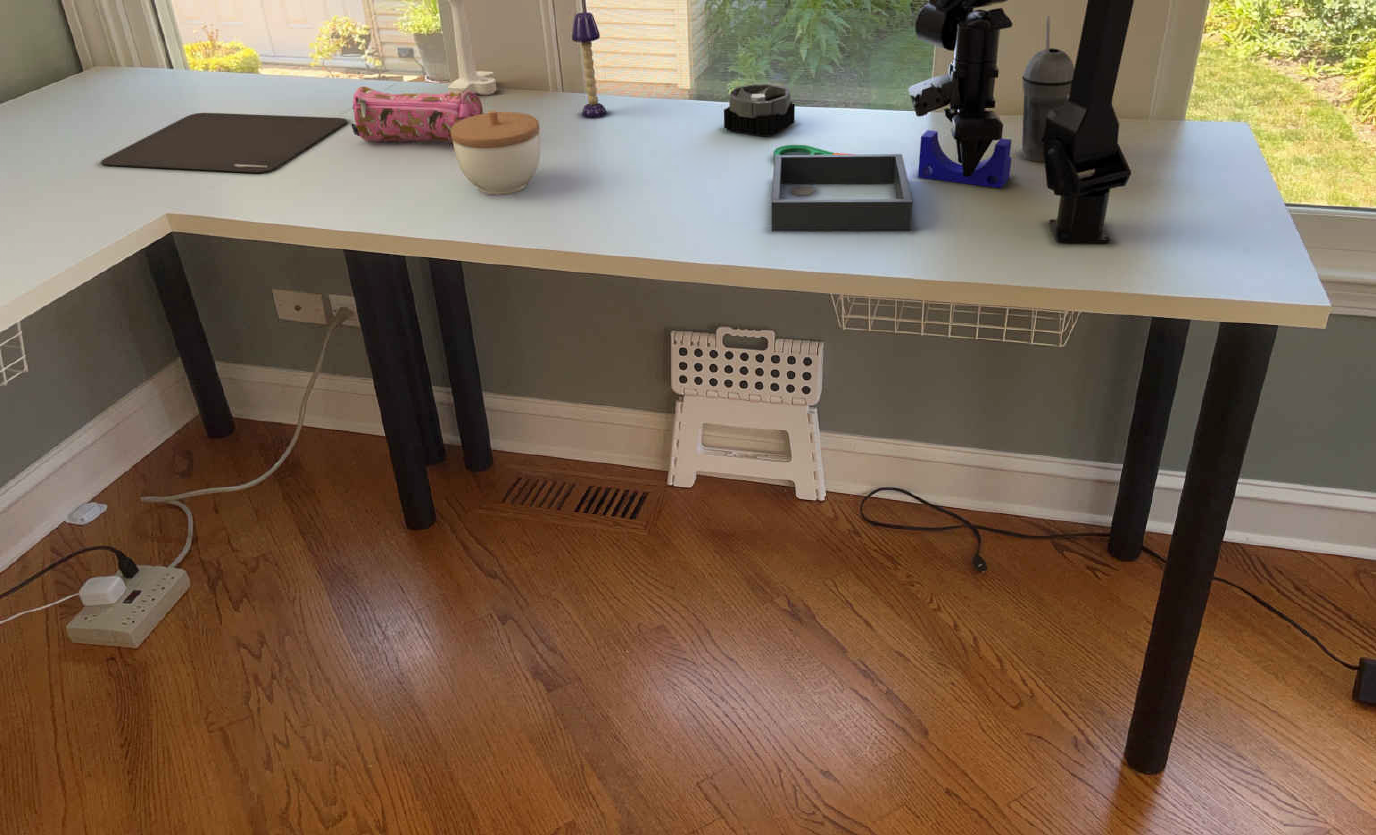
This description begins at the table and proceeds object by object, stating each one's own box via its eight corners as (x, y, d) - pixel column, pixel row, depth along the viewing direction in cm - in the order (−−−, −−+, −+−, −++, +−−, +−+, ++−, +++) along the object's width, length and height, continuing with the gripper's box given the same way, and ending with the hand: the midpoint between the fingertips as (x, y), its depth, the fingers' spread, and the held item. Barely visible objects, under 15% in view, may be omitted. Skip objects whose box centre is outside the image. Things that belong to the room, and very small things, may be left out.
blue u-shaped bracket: (1009, 178, 157) (1014, 136, 154) (1001, 188, 154) (1006, 146, 151) (927, 167, 162) (930, 127, 159) (917, 177, 159) (921, 136, 156)
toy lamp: (575, 117, 189) (565, 16, 180) (585, 109, 193) (576, 10, 184) (601, 118, 188) (592, 17, 179) (610, 110, 192) (603, 11, 183)
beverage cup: (1065, 165, 161) (1086, 23, 150) (1013, 163, 162) (1031, 23, 151) (1061, 148, 167) (1081, 11, 156) (1011, 147, 168) (1028, 10, 157)
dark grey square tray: (910, 231, 143) (912, 201, 141) (771, 231, 145) (771, 202, 143) (900, 181, 158) (902, 154, 156) (774, 181, 160) (774, 155, 158)
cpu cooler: (747, 80, 184) (801, 87, 179) (747, 114, 187) (801, 121, 182) (716, 97, 177) (772, 104, 172) (717, 131, 180) (772, 140, 175)
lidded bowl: (464, 206, 156) (452, 130, 150) (455, 177, 167) (444, 104, 161) (552, 194, 159) (543, 119, 153) (538, 166, 169) (530, 94, 163)
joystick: (474, 82, 210) (458, -29, 199) (509, 85, 208) (495, -28, 197) (444, 99, 201) (425, -16, 190) (480, 102, 199) (463, -15, 188)
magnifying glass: (767, 163, 166) (767, 152, 165) (781, 150, 171) (781, 140, 170) (865, 174, 161) (866, 163, 160) (876, 160, 165) (877, 149, 164)
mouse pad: (94, 164, 178) (94, 163, 178) (194, 113, 200) (194, 112, 199) (268, 173, 171) (267, 172, 171) (351, 119, 193) (351, 118, 192)
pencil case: (350, 148, 180) (339, 94, 175) (378, 130, 187) (368, 78, 183) (470, 155, 175) (462, 99, 170) (494, 136, 182) (487, 82, 177)
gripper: (909, 42, 157) (902, 148, 166) (921, 78, 142) (912, 193, 150) (989, 40, 156) (978, 147, 165) (1009, 77, 141) (996, 193, 149)
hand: (964, 169), depth 157 cm, fingers closed on blue u-shaped bracket, 5 cm apart
